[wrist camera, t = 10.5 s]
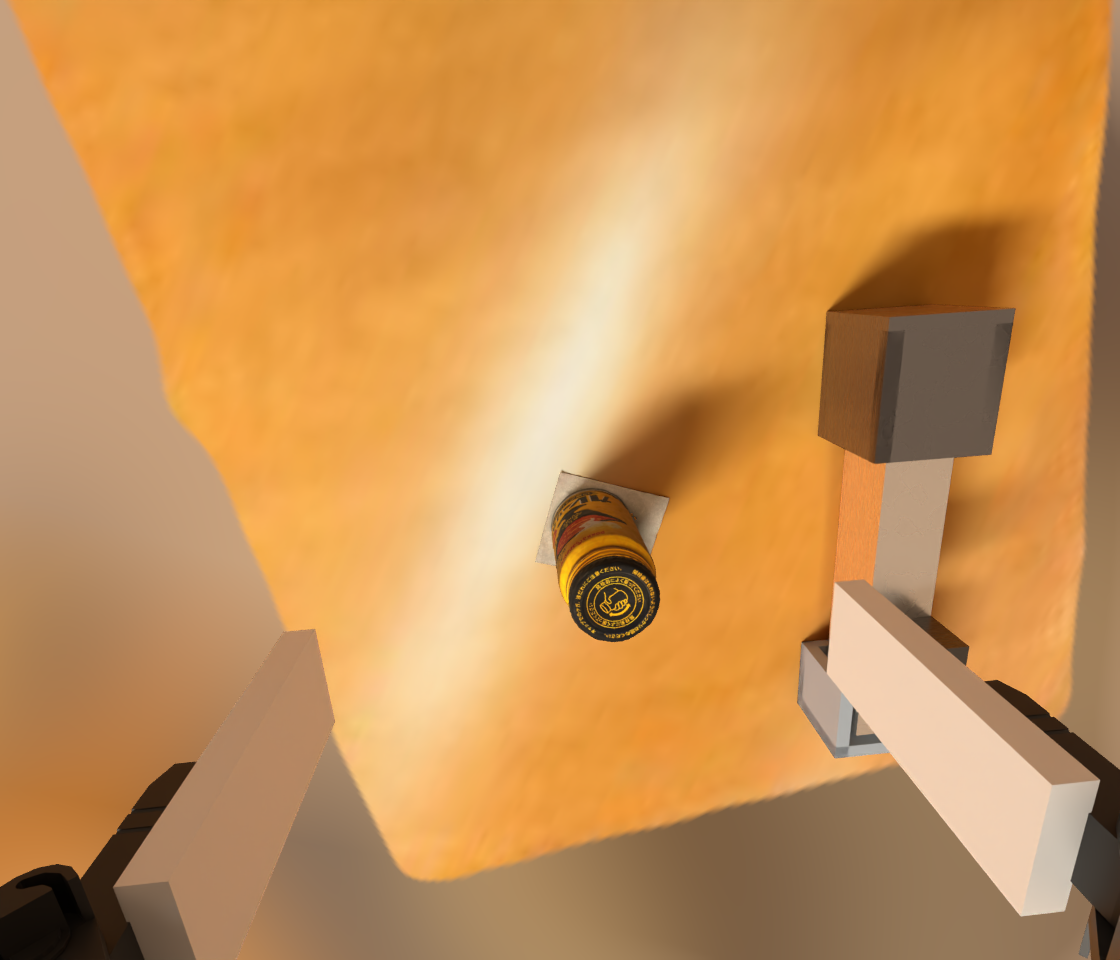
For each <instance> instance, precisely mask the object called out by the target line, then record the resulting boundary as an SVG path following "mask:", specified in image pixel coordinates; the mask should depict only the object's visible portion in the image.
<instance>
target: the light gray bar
mask: <svg viewBox="0 0 1120 960" xmlns="http://www.w3.org/2000/svg"><path fill="white" fill-rule="evenodd" d="M953 460H954V458H943V459H931V460H918V461H906V462H894V463H882V464H873V463H871V462H869V461H867V460H865V459H863V458H861V457H859V456H857V455H855V454H853V453H851V452H849V451H847V450H845V458H844V469H843V481H842V492H841V503H840V515H839V526H838V538H837V549H836V561H835V572H834V583H833V595H834V584H835V582H840V581H851V580H862V579H864V580H865V581H866V582H867V583H869V584H870V585H871V586H872V587H873V588H875V589H876V590H877V591H878V592H879V593H880V594H882V595H883V596H884V597H885V598H886V599H888V600H889V601H890V602H891V603H892V604H893V605H895V606H896V607H897V608H898V609H899V610H900V611H902V612H903V613H904V614H905V615H906V616H908V617H909V618H910V619H911V620H912V621H913V622H915V623H916V624H917V625H918V626H919V627H921V628H922V629H923V630H924V631H925V632H926V633H928V634H929V635H930V636H931V637H932V638H933V639H935V640H936V641H937V642H938V643H939V644H941V645H942V646H943V647H944V648H945V649H946V650H948V651H949V652H950V653H951V654H952V655H953V656H955V657H956V658H957V659H958V660H959V661H961V662H962V663H963V664H964V665H965V666H966V662H967V656H968V650H969V646H968V645H966V644H965V643H964V642H963V641H961V640H960V639H959V638H958V637H956V636H955V635H954V634H953V633H951V632H950V631H949V630H948V629H946V628H945V627H944V626H943V625H941V624H940V623H939V622H938V621H936V620H935V619H934V618H933V617H931V611H932V604H933V597H934V591H935V584H936V577H937V570H938V563H939V556H940V549H941V543H942V536H943V529H944V522H945V515H946V508H947V502H948V495H949V488H950V481H951V474H952V467H953ZM833 595H832V606H831V618H832V607H833ZM831 618H830V629H831ZM830 629H829V641H830ZM829 641H828V652H829ZM828 652H827V658H828ZM851 730H852V731H853V732H854V734H855V735H856V736H857V735H867V734H875V733H874V732H873V731H872V729H871V728H870V727H869V726H868V724H867V723H866V722H865V721H864V719H863V718H862V717H861V716H860V714H859V713H858V712H857V711H856V709H855V708H854V707H853V712H852V721H851Z"/></svg>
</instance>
